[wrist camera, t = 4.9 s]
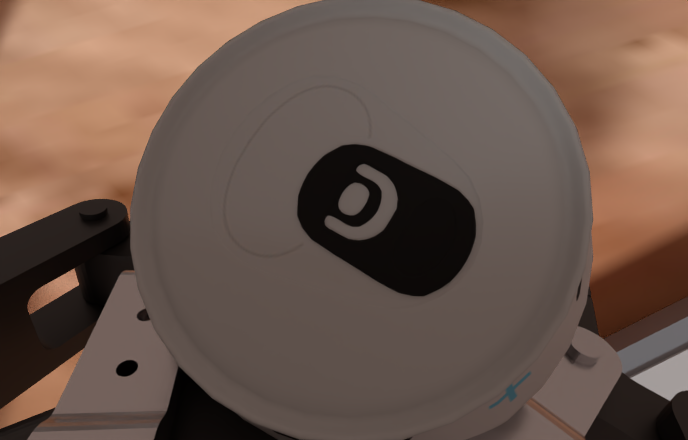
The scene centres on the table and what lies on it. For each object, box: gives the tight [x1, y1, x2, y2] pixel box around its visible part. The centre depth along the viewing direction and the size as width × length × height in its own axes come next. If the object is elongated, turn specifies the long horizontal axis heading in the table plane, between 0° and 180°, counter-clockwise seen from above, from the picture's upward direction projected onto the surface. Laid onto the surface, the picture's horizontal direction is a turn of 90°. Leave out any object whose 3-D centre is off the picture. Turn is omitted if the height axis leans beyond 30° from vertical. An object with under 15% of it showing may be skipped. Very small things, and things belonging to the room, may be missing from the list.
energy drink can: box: [130, 0, 593, 440], centre depth 12 cm, size 6×6×15 cm
